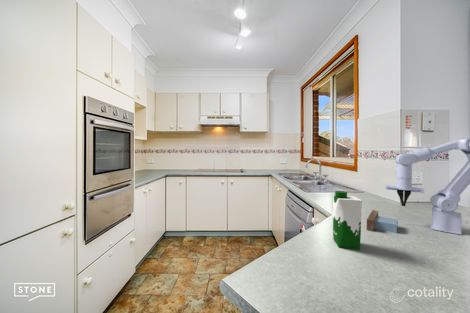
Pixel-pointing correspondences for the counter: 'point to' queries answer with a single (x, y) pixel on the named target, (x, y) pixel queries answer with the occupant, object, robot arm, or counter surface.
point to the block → (386, 224)
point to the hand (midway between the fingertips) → (403, 205)
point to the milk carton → (346, 220)
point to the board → (371, 220)
